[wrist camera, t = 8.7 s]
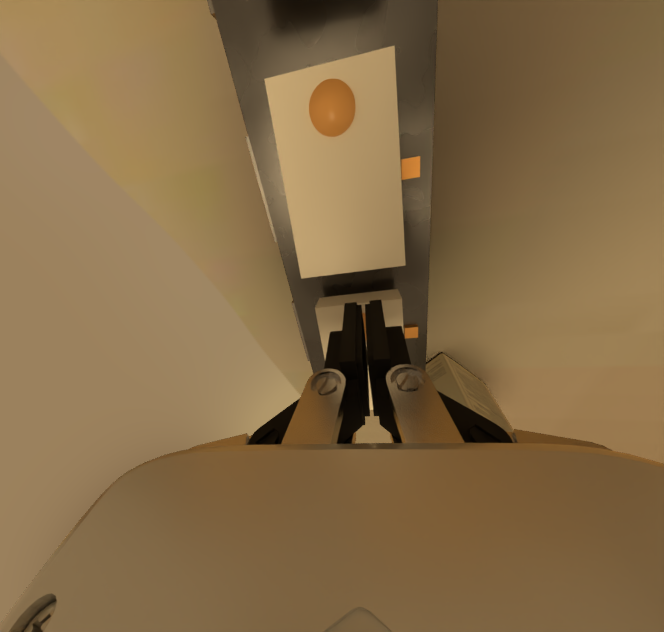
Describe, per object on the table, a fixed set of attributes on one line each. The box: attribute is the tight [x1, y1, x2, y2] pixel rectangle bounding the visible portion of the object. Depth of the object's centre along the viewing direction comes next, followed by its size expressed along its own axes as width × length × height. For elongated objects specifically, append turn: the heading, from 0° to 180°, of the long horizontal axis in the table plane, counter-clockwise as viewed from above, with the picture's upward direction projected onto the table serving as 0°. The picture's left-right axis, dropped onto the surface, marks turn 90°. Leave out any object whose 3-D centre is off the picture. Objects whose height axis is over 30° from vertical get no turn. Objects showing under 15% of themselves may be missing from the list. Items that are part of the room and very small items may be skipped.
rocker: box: [315, 289, 404, 410], centre depth 15 cm, size 7×4×2 cm, turn 9°
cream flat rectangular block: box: [264, 46, 406, 279], centre depth 10 cm, size 7×4×2 cm, turn 9°
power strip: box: [207, 0, 438, 373], centre depth 14 cm, size 28×8×4 cm, turn 9°
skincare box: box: [426, 353, 513, 432], centre depth 18 cm, size 6×4×12 cm
